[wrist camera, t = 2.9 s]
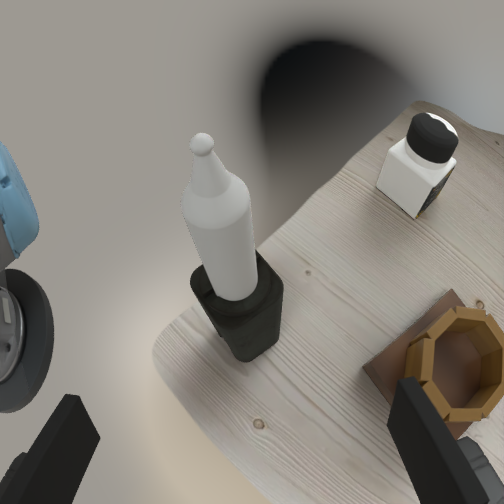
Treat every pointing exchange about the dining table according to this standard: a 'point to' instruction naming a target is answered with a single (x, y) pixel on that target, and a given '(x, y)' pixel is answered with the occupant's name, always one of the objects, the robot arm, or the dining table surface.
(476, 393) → the stand
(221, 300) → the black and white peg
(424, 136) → the medicine bottle
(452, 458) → the robot arm
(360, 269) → the dining table surface
